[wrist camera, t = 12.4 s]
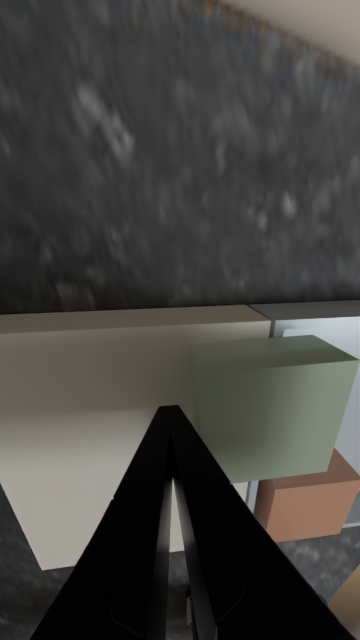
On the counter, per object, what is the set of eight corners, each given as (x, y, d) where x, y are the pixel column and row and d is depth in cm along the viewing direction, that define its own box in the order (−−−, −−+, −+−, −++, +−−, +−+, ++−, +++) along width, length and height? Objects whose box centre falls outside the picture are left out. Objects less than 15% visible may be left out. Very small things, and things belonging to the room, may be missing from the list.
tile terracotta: (315, 496, 14) (339, 533, 12) (249, 504, 14) (263, 544, 12) (332, 445, 12) (363, 479, 11) (257, 452, 12) (275, 489, 10)
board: (227, 496, 15) (239, 542, 12) (62, 516, 14) (41, 570, 11) (245, 304, 10) (271, 320, 7) (-8, 314, 9) (-69, 337, 7)
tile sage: (293, 428, 9) (326, 471, 8) (193, 439, 9) (201, 487, 7) (312, 334, 8) (360, 359, 6) (190, 343, 7) (200, 374, 6)
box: (373, 478, 16) (411, 518, 13) (229, 495, 15) (242, 542, 12) (456, 296, 11) (538, 307, 8) (248, 304, 10) (276, 320, 7)
